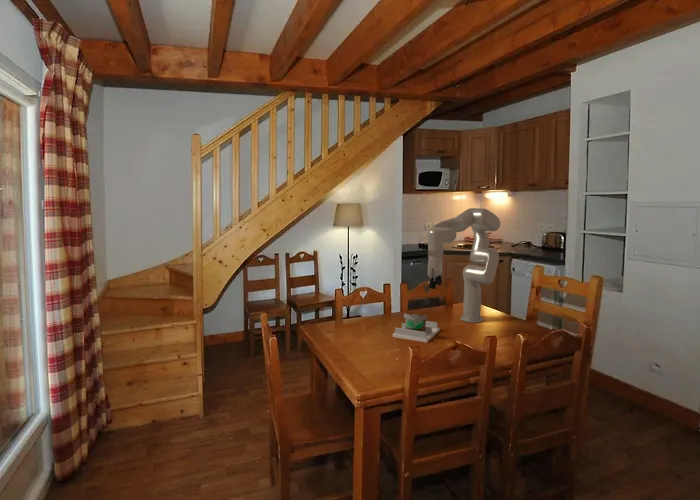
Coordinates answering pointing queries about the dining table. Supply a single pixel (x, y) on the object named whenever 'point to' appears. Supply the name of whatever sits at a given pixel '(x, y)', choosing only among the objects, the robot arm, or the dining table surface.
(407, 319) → the food container
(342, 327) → the dining table surface
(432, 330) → the rack
